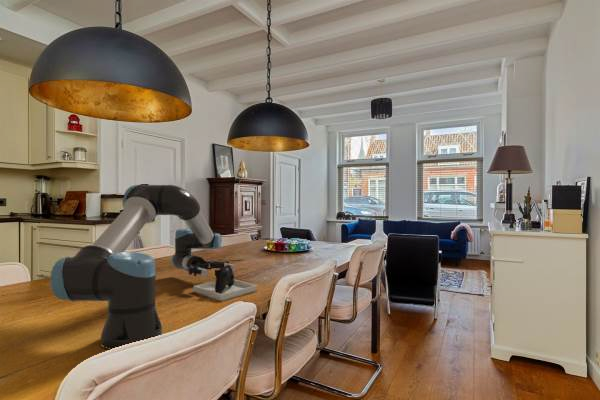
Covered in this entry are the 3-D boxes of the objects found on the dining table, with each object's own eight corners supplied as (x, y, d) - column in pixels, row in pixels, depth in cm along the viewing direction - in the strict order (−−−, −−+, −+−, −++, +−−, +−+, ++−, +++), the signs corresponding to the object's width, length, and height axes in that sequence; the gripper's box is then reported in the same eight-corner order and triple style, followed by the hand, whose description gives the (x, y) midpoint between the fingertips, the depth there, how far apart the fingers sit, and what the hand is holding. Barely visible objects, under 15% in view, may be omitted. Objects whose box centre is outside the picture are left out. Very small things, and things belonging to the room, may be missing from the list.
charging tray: (220, 301, 126) (220, 294, 126) (193, 291, 138) (193, 285, 138) (257, 291, 139) (257, 285, 139) (229, 283, 152) (229, 278, 152)
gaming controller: (225, 295, 131) (225, 270, 131) (211, 294, 132) (211, 269, 132) (238, 286, 145) (238, 263, 145) (225, 285, 146) (225, 262, 146)
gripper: (216, 267, 166) (243, 274, 152) (168, 276, 147) (194, 284, 133) (216, 252, 166) (243, 257, 152) (168, 259, 147) (194, 266, 133)
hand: (220, 270), depth 142 cm, fingers open, 13 cm apart
